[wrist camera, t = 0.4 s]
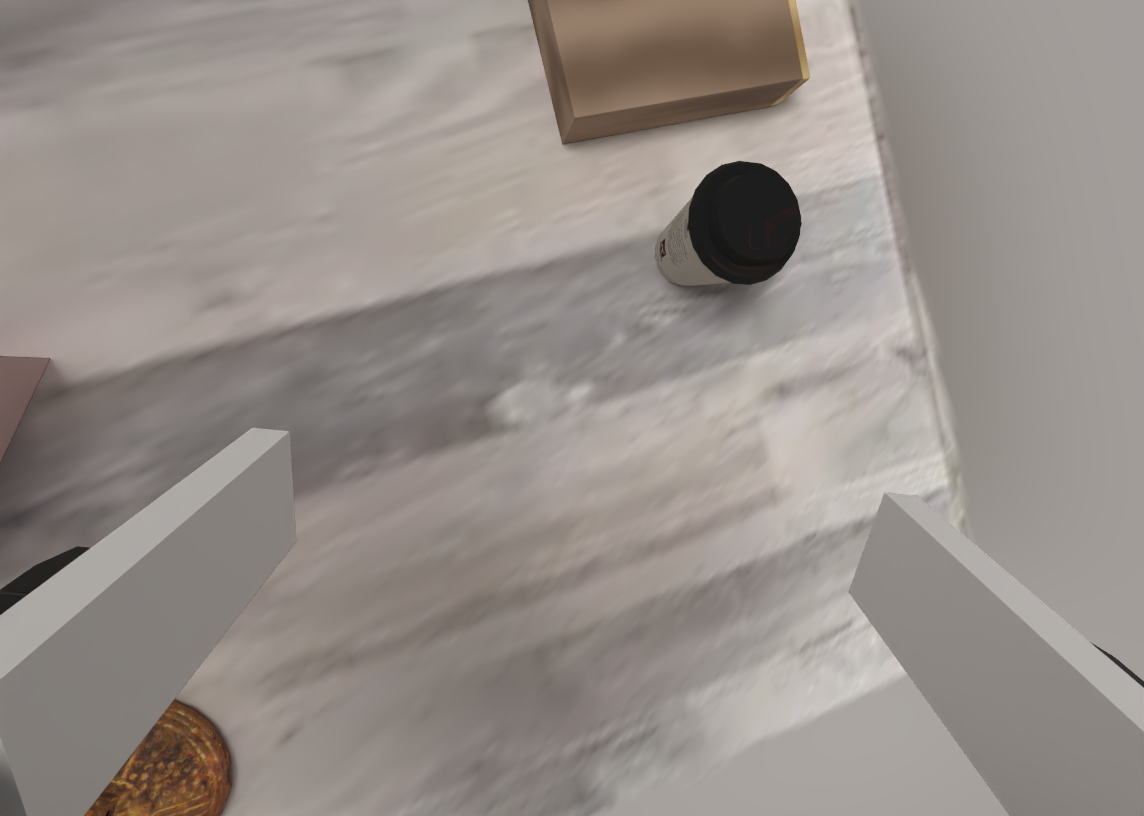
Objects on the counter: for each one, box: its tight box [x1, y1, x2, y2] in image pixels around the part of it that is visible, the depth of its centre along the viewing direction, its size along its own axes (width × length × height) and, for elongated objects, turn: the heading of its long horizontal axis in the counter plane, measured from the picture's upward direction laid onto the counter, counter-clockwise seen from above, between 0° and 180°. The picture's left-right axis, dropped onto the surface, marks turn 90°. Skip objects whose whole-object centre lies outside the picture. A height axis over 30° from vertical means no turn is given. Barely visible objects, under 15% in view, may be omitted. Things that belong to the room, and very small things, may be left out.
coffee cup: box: [655, 161, 802, 286], centre depth 35 cm, size 7×7×10 cm
